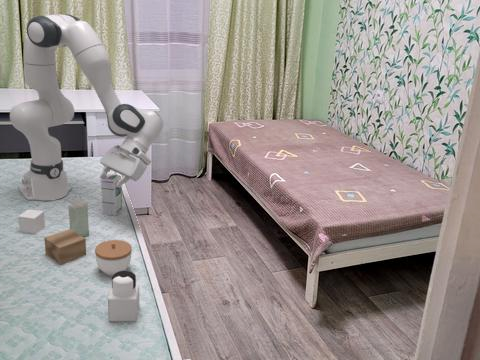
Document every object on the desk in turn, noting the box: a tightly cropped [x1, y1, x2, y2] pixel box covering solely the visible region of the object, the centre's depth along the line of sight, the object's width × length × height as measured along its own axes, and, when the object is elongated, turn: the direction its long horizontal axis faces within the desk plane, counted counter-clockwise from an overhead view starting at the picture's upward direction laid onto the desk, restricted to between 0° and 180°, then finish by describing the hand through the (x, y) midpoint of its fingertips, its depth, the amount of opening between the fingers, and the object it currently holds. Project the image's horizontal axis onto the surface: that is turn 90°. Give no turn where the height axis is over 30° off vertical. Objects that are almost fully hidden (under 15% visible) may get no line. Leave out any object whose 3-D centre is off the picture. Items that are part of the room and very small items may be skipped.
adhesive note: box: [17, 209, 46, 235], centre depth 171 cm, size 6×6×6 cm
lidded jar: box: [94, 239, 133, 277], centre depth 149 cm, size 11×11×9 cm
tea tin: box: [67, 198, 90, 238], centre depth 168 cm, size 5×5×12 cm
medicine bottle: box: [107, 270, 140, 322], centre depth 129 cm, size 7×7×12 cm
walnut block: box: [43, 228, 87, 265], centre depth 156 cm, size 9×9×6 cm
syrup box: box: [100, 173, 123, 216], centre depth 186 cm, size 6×6×14 cm
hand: (109, 182), depth 173 cm, fingers open, 8 cm apart
